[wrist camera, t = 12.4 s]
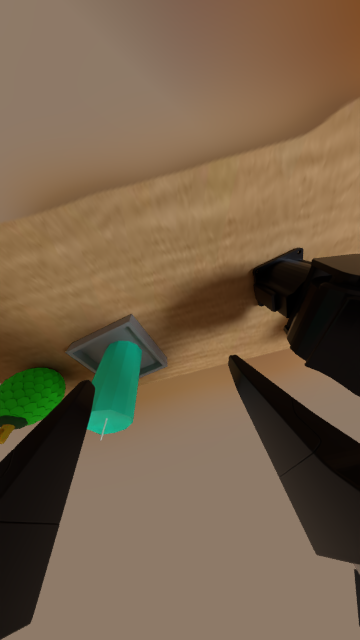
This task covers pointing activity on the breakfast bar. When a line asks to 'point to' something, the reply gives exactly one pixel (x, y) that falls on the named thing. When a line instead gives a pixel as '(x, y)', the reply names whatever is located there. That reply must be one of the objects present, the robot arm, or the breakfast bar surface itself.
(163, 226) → the breakfast bar surface
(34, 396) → the ornament
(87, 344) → the tray
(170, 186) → the breakfast bar surface
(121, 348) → the candle
